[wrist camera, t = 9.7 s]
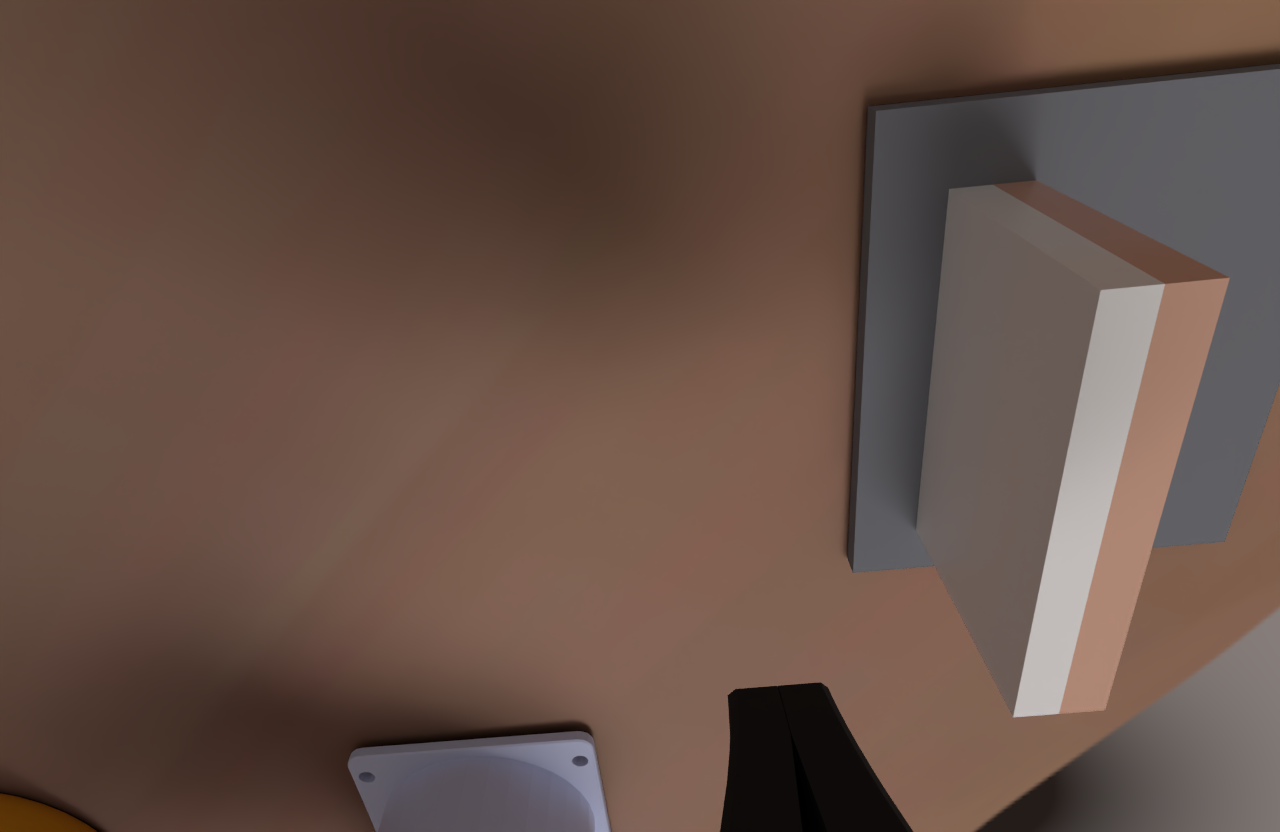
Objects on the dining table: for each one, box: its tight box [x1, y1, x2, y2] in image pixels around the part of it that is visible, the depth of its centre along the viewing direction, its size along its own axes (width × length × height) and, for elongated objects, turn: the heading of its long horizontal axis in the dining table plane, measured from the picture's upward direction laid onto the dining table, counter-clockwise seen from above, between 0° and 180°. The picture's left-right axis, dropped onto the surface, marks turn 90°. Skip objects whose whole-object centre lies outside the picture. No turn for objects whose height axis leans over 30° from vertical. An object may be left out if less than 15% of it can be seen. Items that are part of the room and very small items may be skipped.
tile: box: [916, 180, 1230, 717], centre depth 16 cm, size 9×2×6 cm, turn 5°
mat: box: [848, 64, 1280, 573], centre depth 19 cm, size 12×10×1 cm
